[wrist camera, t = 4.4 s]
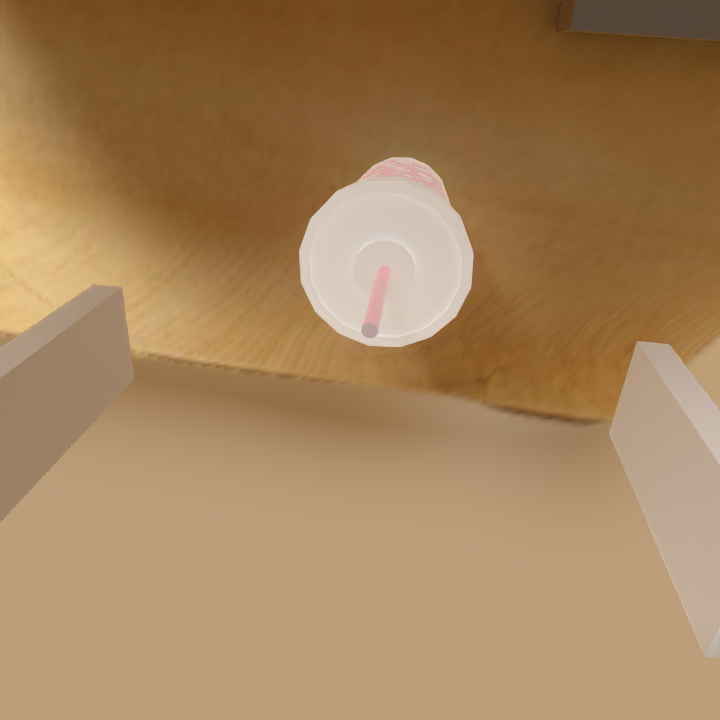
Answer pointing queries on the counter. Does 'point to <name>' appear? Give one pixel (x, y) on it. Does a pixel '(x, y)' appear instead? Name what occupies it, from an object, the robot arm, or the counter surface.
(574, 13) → the socket collar
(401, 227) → the beverage cup
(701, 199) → the counter surface
